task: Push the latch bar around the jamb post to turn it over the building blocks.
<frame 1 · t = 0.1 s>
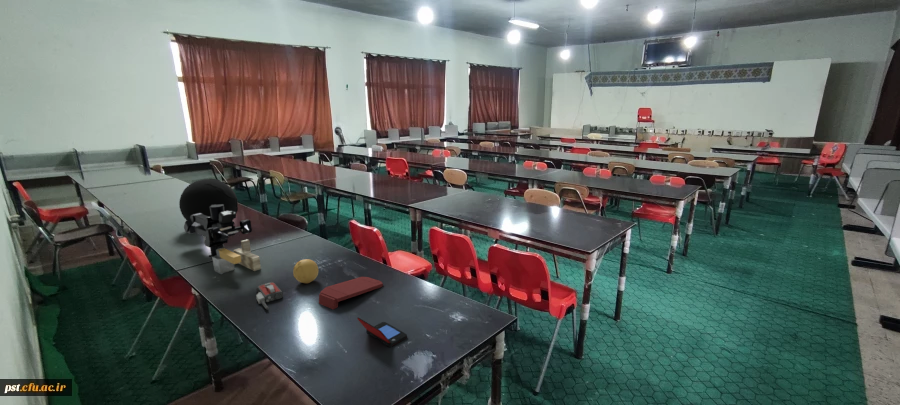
hand: (238, 234, 174), 17 cm above the table, tool horizontal, fingers open, 9 cm apart
dark red long block: (351, 294, 155), on the table
stress ball: (307, 282, 165), on the table
handheld game console: (382, 338, 126), on the table
latch bar: (228, 255, 171), point 8 cm above the table, hinge at 0.0°
building blocks: (247, 265, 182), on the table
sphere: (213, 228, 238), on the table
jamb post: (224, 270, 177), on the table
walkie-talkie: (270, 299, 151), on the table
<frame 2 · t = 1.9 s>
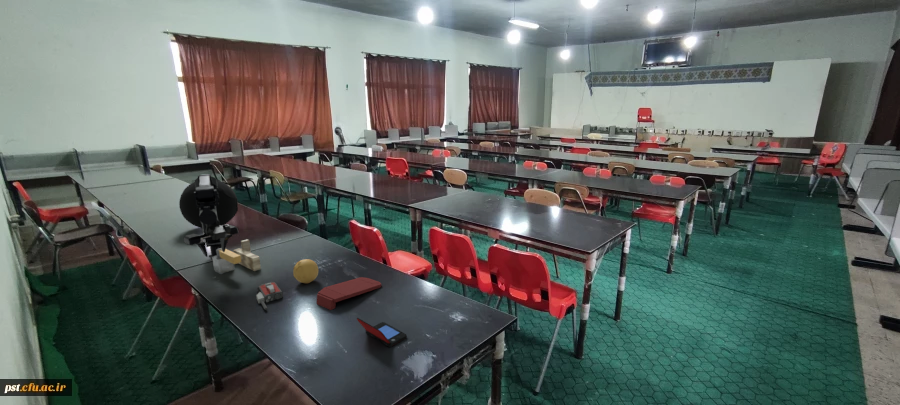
hand: (215, 254, 163), 12 cm above the table, tool pointing down, fingers open, 6 cm apart
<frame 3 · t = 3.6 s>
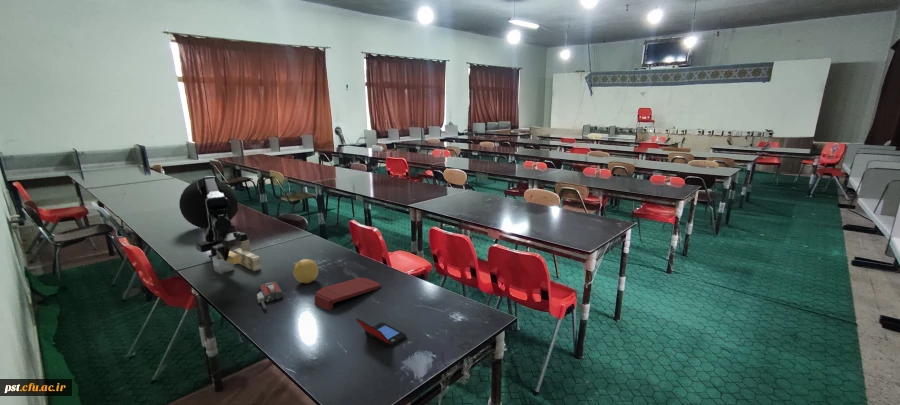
hand: (225, 260, 167), 8 cm above the table, tool pointing down, fingers closed
latch bar: (228, 255, 171), point 8 cm above the table, hinge at 0.0°, touching gripper
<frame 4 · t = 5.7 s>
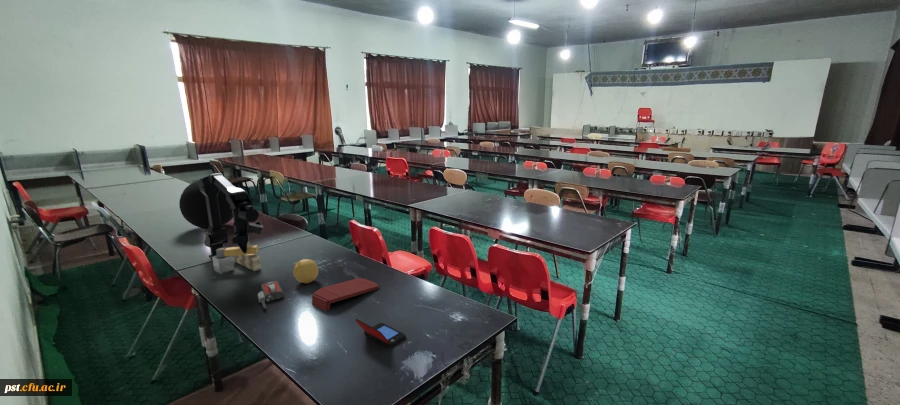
hand: (245, 253, 175), 8 cm above the table, tool pointing down, fingers closed
latch bar: (237, 251, 176), point 8 cm above the table, hinge at 51.2°, touching gripper
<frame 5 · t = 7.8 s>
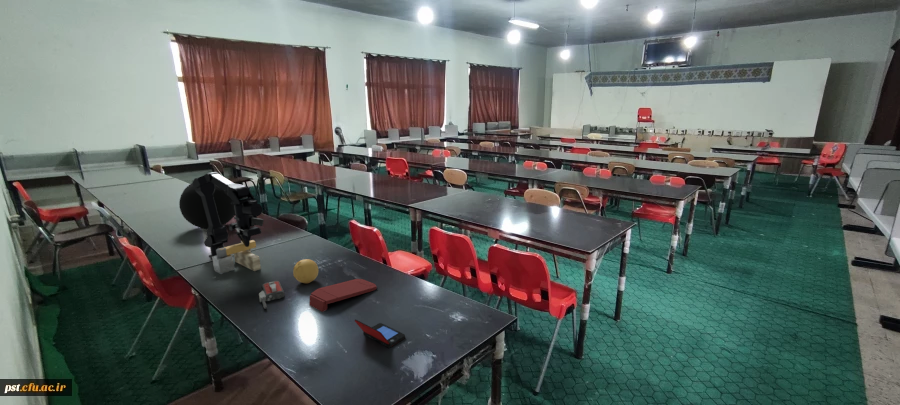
hand: (247, 246, 181), 9 cm above the table, tool pointing down, fingers closed
latch bar: (236, 248, 180), point 8 cm above the table, hinge at 88.3°
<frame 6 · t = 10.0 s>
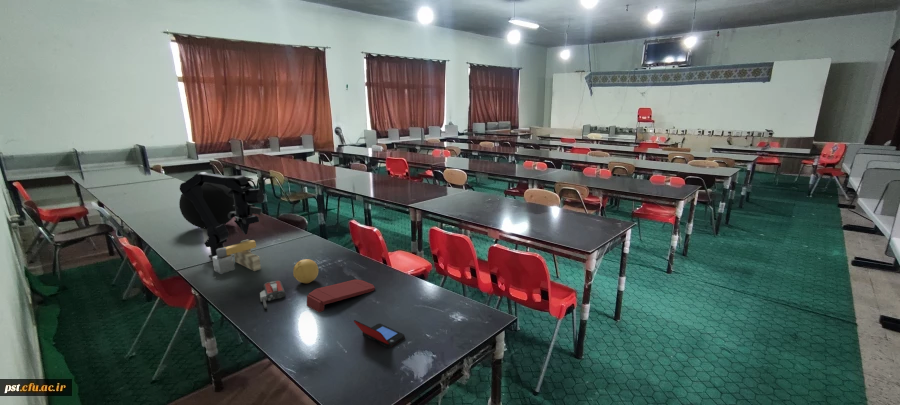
hand: (245, 234, 188), 12 cm above the table, tool pointing down, fingers closed
at the end: latch bar at +88° (first picture: +0°); walkie-talkie moved 1.6 cm from its start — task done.
